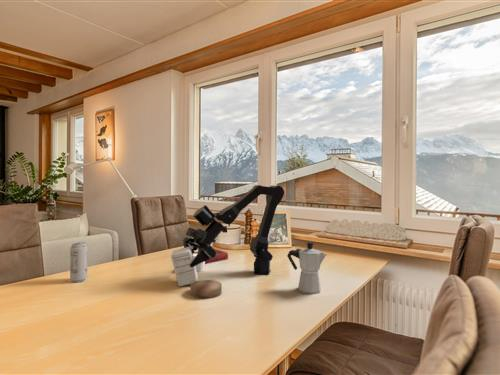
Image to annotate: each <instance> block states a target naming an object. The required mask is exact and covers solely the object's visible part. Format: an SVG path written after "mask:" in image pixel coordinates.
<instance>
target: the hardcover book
mask: <svg viewBox="0 0 500 375" xmlns="http://www.w3.org/2000/svg"><path fill="white" fill-rule="evenodd" d="M213 249H214V250H215V251H216V256H215V257H214V259H212V258H211V259H209V260H207V261H205V265H206V264H212V263H216V262H221V261H225V260H227V261H228V260H229V252H228V251H224V250H220V249H216V248H213ZM196 253H198V251H194V253H193V254H196Z"/></svg>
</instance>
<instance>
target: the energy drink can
mask: <svg viewBox="0 0 500 375" xmlns="http://www.w3.org/2000/svg"><path fill="white" fill-rule="evenodd" d="M69 253H70V254H69V265H70V266H69V279H70V281H71V282H72V283H81V281H82V282H85V281H86V279H87V278H88V245H87V244H86V242H85V241H76V242H72V243H71V246H70V248H69Z"/></svg>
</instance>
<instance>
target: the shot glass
mask: <svg viewBox="0 0 500 375" xmlns="http://www.w3.org/2000/svg"><path fill="white" fill-rule="evenodd" d="M197 254H198V253H196V254H193V258H195V257H196V255H197ZM205 265H206V264H205V261H204V262H202V263H200V264H198V265H196V270H197V273H202V272H204V271H205Z"/></svg>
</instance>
